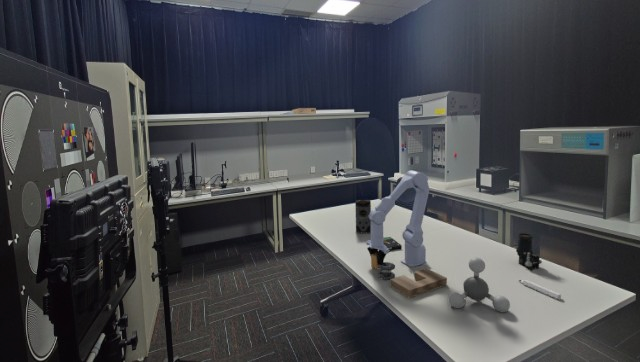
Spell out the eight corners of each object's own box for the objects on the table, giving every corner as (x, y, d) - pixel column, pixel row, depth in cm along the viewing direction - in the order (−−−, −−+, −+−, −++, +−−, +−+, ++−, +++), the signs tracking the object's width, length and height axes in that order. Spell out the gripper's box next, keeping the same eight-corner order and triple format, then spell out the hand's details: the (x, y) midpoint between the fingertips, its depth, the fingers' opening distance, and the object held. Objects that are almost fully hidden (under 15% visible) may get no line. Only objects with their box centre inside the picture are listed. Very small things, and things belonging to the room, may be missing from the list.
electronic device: (355, 233, 204) (355, 202, 201) (356, 230, 210) (355, 199, 207) (371, 233, 202) (370, 201, 199) (371, 230, 208) (370, 199, 205)
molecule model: (481, 308, 129) (453, 261, 134) (520, 297, 118) (488, 247, 124) (462, 332, 114) (431, 279, 120) (505, 322, 104) (469, 264, 109)
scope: (529, 240, 142) (510, 233, 151) (527, 270, 144) (509, 262, 153) (544, 238, 144) (525, 231, 153) (542, 267, 146) (523, 259, 155)
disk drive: (402, 250, 175) (390, 241, 189) (402, 245, 174) (390, 236, 189) (384, 252, 173) (373, 242, 187) (384, 247, 172) (373, 238, 187)
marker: (518, 283, 135) (559, 301, 120) (515, 282, 134) (556, 299, 119) (520, 277, 135) (562, 294, 120) (517, 276, 134) (559, 293, 119)
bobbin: (388, 271, 148) (387, 261, 147) (398, 277, 142) (398, 266, 141) (375, 275, 145) (375, 264, 144) (385, 281, 139) (385, 270, 138)
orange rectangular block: (378, 264, 156) (378, 252, 155) (383, 267, 153) (383, 255, 152) (371, 266, 154) (371, 254, 153) (376, 269, 151) (376, 257, 150)
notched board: (426, 274, 143) (426, 268, 143) (446, 284, 134) (446, 277, 133) (390, 286, 134) (390, 279, 134) (409, 297, 125) (409, 290, 124)
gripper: (360, 233, 156) (361, 260, 158) (379, 241, 143) (380, 271, 145) (372, 230, 159) (373, 257, 161) (392, 238, 146) (392, 267, 148)
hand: (377, 263), depth 153 cm, fingers closed on orange rectangular block, 4 cm apart
